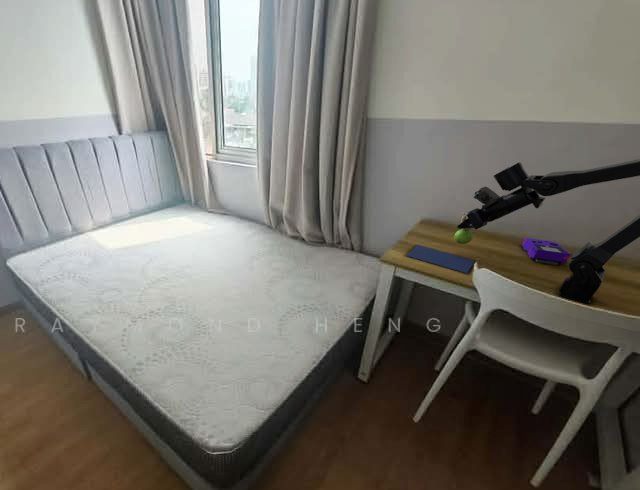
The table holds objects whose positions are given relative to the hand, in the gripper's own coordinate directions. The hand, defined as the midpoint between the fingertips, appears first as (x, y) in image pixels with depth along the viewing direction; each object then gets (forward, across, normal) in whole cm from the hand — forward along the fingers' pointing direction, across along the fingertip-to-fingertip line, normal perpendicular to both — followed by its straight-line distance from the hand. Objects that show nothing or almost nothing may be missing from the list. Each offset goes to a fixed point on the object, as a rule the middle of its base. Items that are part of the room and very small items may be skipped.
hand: (462, 225), depth 111 cm
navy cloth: (+10, +5, +8) cm, 13 cm away
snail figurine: (+4, 0, +6) cm, 7 cm away
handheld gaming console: (-5, -27, +23) cm, 35 cm away
